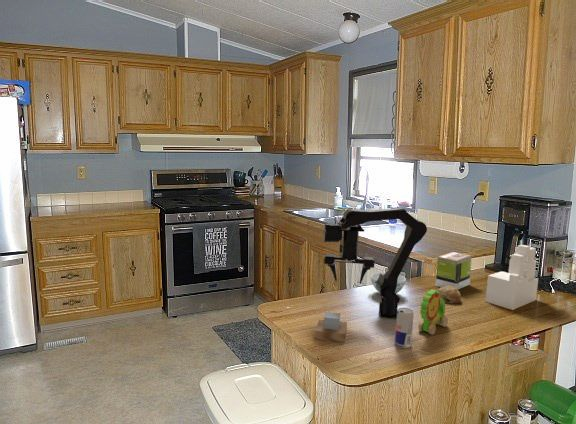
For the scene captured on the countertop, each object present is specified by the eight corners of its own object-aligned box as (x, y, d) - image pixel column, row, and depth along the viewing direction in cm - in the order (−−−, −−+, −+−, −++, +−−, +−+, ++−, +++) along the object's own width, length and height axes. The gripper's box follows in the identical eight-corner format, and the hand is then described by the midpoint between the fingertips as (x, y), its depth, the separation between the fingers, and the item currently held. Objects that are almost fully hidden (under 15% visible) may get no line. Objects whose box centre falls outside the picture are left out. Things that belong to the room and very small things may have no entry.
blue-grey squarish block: (339, 324, 159) (340, 313, 158) (338, 330, 154) (338, 318, 153) (325, 322, 160) (325, 312, 159) (323, 328, 155) (324, 317, 154)
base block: (346, 330, 161) (347, 322, 161) (344, 342, 151) (345, 333, 151) (318, 327, 163) (318, 319, 163) (314, 339, 153) (315, 330, 153)
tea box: (450, 280, 226) (453, 251, 223) (470, 285, 218) (473, 255, 216) (434, 286, 215) (437, 255, 213) (454, 291, 208) (457, 260, 206)
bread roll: (434, 308, 197) (435, 294, 192) (437, 291, 204) (438, 278, 200) (459, 311, 193) (460, 298, 189) (460, 295, 201) (462, 281, 197)
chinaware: (392, 287, 211) (393, 271, 210) (411, 298, 197) (412, 281, 196) (363, 290, 205) (364, 274, 204) (381, 301, 192) (382, 284, 190)
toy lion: (434, 321, 172) (437, 282, 170) (448, 325, 168) (451, 286, 166) (414, 333, 161) (417, 292, 158) (428, 338, 157) (432, 296, 154)
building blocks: (512, 310, 187) (519, 250, 183) (485, 301, 196) (491, 245, 192) (535, 300, 200) (542, 244, 196) (509, 292, 209) (515, 239, 205)
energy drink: (392, 341, 153) (394, 307, 151) (407, 341, 154) (410, 307, 152) (397, 348, 148) (400, 313, 146) (413, 348, 149) (416, 313, 147)
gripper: (375, 239, 178) (373, 278, 180) (327, 236, 181) (326, 274, 183) (375, 246, 167) (372, 287, 169) (324, 242, 170) (322, 282, 173)
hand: (348, 282), depth 174 cm, fingers open, 9 cm apart
